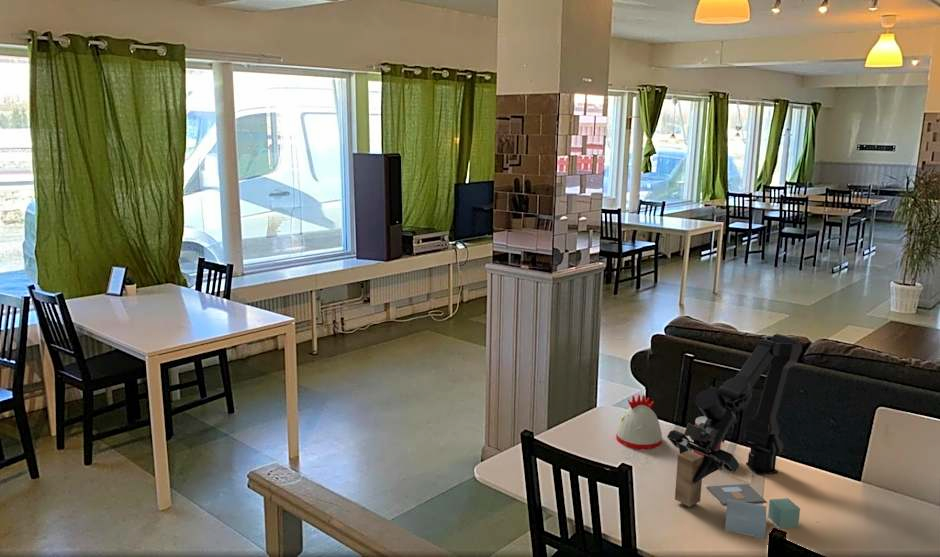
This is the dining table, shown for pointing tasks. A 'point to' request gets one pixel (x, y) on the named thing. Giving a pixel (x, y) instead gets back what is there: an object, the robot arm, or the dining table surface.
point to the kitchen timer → (639, 426)
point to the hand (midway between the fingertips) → (685, 478)
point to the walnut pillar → (688, 478)
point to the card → (735, 493)
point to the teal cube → (784, 513)
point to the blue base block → (746, 518)
